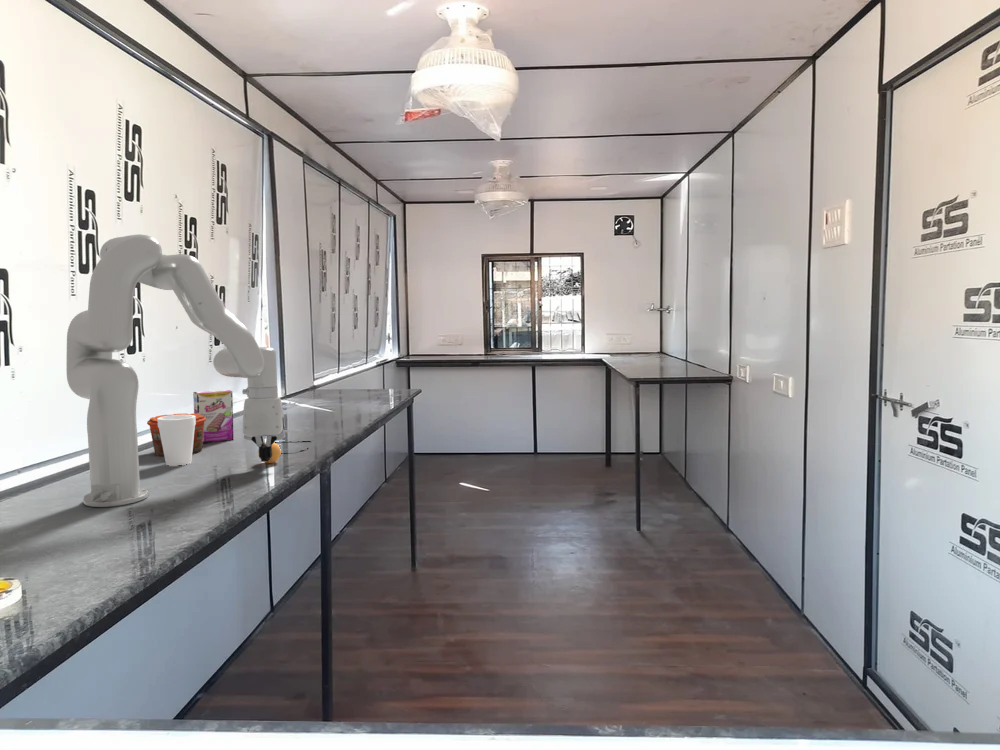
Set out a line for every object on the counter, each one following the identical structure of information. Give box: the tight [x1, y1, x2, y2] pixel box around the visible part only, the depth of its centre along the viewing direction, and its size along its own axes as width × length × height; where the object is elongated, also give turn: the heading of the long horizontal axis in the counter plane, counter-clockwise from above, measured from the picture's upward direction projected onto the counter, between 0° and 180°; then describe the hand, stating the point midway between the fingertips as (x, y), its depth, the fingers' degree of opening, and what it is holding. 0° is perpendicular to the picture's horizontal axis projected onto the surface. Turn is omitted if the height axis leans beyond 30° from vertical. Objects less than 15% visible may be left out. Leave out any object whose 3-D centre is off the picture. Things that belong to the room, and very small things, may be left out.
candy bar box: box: [193, 389, 234, 444], centre depth 217 cm, size 11×5×16 cm, turn 130°
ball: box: [257, 442, 282, 464], centre depth 186 cm, size 6×6×6 cm
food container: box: [146, 413, 206, 457], centre depth 200 cm, size 16×16×11 cm
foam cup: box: [157, 414, 196, 467], centre depth 185 cm, size 10×9×13 cm
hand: (265, 460), depth 181 cm, fingers closed
